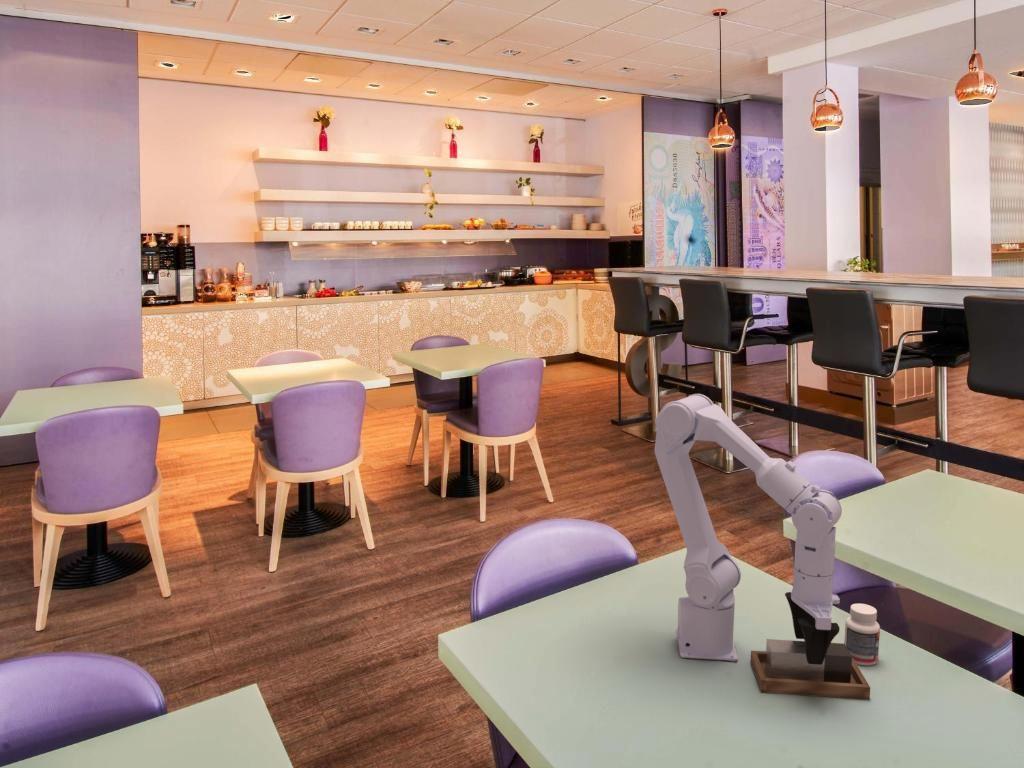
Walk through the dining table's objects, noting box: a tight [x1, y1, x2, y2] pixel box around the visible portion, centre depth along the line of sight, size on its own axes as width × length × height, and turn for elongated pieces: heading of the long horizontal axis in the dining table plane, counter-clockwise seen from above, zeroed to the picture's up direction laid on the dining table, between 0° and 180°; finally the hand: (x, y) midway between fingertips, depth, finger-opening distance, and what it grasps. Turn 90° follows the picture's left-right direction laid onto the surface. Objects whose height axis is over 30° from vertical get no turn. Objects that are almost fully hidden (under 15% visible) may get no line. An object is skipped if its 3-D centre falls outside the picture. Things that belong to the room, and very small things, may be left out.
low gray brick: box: [765, 638, 852, 683], centre depth 117 cm, size 12×4×5 cm, turn 82°
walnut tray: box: [749, 650, 871, 701], centre depth 117 cm, size 16×9×2 cm, turn 82°
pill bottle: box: [843, 603, 881, 667], centre depth 123 cm, size 5×5×9 cm
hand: (808, 650), depth 117 cm, fingers open, 7 cm apart
